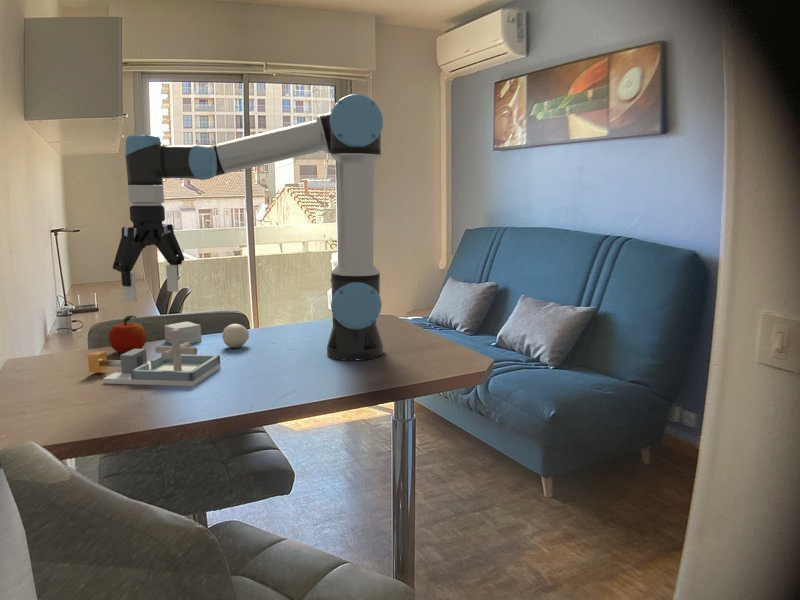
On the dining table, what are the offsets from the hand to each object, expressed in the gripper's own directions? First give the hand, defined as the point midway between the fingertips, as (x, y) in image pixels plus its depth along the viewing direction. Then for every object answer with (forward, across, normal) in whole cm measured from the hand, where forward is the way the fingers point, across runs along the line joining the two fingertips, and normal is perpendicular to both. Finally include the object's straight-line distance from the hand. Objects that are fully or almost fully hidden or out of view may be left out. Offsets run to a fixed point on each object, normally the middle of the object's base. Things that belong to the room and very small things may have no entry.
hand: (152, 295), depth 149 cm
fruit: (+20, -15, -24) cm, 34 cm away
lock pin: (+19, +3, -11) cm, 22 cm away
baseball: (+20, -30, +1) cm, 35 cm away
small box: (+20, -30, -18) cm, 40 cm away
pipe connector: (+18, -2, +5) cm, 19 cm away
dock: (+19, -1, +1) cm, 19 cm away
